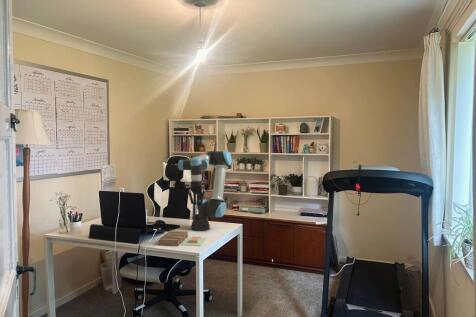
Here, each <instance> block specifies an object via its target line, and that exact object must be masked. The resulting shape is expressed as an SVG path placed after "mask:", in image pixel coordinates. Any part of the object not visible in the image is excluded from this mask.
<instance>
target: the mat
mask: <svg viewBox="0 0 476 317" xmlns="http://www.w3.org/2000/svg"><path fill="white" fill-rule="evenodd" d="M192 237H193V236H188V237H187V238H186V239H185V240H184V241H183V242H182V243H181V244H180V246H189V247H190V246H192V247H193V246H196V247H201V246H203V244H204V243H205V242H206V240H207V239H208V237H201V240H200V241H199V242H198V243H189V240H190V239H191V238H192Z"/></svg>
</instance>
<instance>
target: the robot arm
mask: <svg viewBox="0 0 476 317" xmlns="http://www.w3.org/2000/svg"><path fill="white" fill-rule="evenodd" d="M232 160H233V159H232V154H231V153H230V152H229V151H227V150H226V151H225V150H221V151H220V150H218V151H217V150H212V151H206V152H204V153H201V154H200V155H198V156H195V157H191V158H188V159H180V160H178V162H177V168H178V170H179V171H190V189H188V190H187V194H188V196H189V200H190V204H191V205H192V221H191V225H190V229H191V230H192V231H207V230H209V229H211V224H210V222H209V219H208V217H211V218H214V217H215V218H222V217H224V215H225V214H226V211H227V203H226V202H225V199H224V192H225V191H224V190H225V182H226V174H227V170H228V169H229V166H231V165H232ZM210 166H214V168H215V171H214V172H215V173H214V181H213V188H212V195H211V196H212V197H211V198H209V201H208V199H205V198H204V196H205V193H206V192H207V191H206V189H203V185H202V184H203V183H202V172H203V171H206V170H208V169H209V167H210ZM200 195H201V197H200Z"/></svg>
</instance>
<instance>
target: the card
mask: <svg viewBox="0 0 476 317" xmlns="http://www.w3.org/2000/svg"><path fill="white" fill-rule="evenodd" d="M191 237H192V238H191V239H190V240H189V243H198V242H199V241H200V240H201V238H202V236H195V235H194V236H191Z"/></svg>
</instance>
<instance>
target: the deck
mask: <svg viewBox="0 0 476 317" xmlns="http://www.w3.org/2000/svg"><path fill="white" fill-rule="evenodd" d="M188 232H189V231H188V230H187V231H184V230H183V231H182V230H169V231H167V232H165V234H163V235H162V236H161V237H160V238H158V246H168V247H169V246H171V247H179V246H181V244H182V243H183V242H184V241H185V240H186V239H187V238H188V237H189V233H188Z"/></svg>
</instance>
